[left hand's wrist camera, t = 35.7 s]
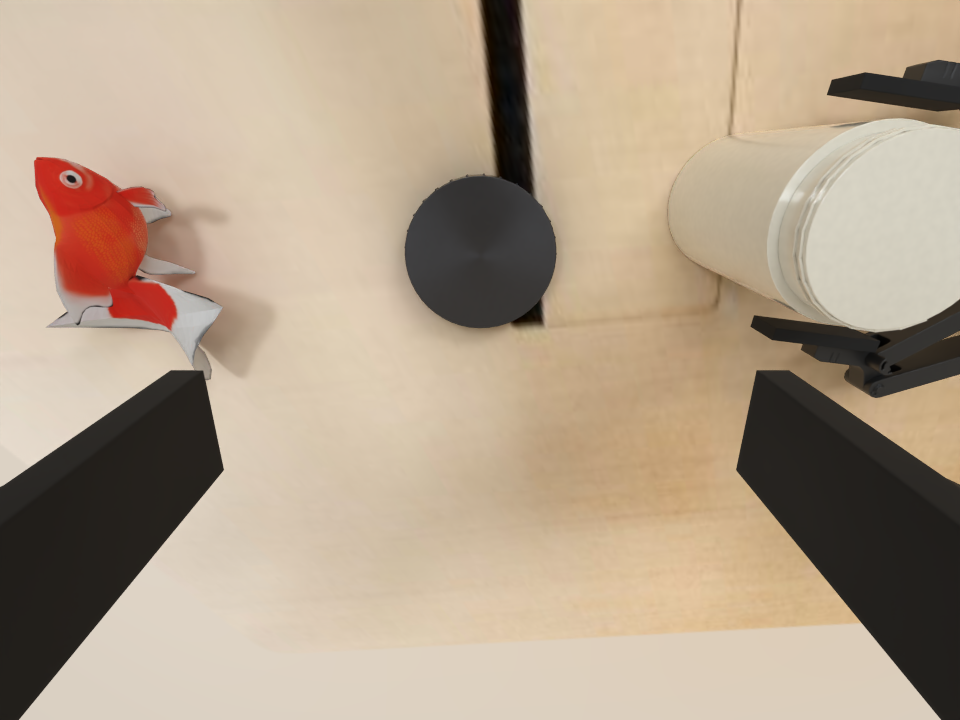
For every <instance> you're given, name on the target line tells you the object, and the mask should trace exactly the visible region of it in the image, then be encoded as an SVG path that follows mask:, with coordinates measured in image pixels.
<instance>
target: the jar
mask: <svg viewBox="0 0 960 720" xmlns="http://www.w3.org/2000/svg"><path fill="white" fill-rule="evenodd" d="M668 223H669V228H670V232H671V235H672V237H673V239H674V241H675V243H676V245H677V246H678V248H679V249H680V251H681V252H682V253H683V254H684V255H685V256H686V257H688V258H689V259H690V260H691V261H693V262H695V263H697V264H699V265H701V266H703V267H705V268H707V269H709V270H711V271H713V272H715V273H717V274H719V275H721V276H723V277H725V278H727V279H729V280H731V281H733V282H735V283H738V284H740V285H742V286H744V287H746V288H748V289H750V290H752V291H754V292H756V293H758V294H760V295H762V296H764V297H766V298H768V299H770V300H772V301H774V302H777V303H779V304H781V305H783V306H785V307H787V308H789V309H791V310H793V311H795V312H797V313H799V314H801V315H803V316H805V317H807V318H810V319H812V320H815V321H818V322H822V323H826V324H832V325H844V326H846V327H849V328H850V329H857V330H863V331H870V332H883V331H892V330H902V329H905V328H908V327H911V326H913V325H916V324H919V323H922V322H925V321H927V319H929V318H931V317H933V316H935V315H937V314H938V313H940V312H942V311H944V310H945V309H947V308H948V307H950V306H951V305H953V304H954V303H955V302H957V301H958V300H959V299H960V129H957V128H952V127H946V126H940V125H935V124H928V123H925V122H921V121H918V120H913V119H903V118H895V119H880V120H870V121H860V122H849V123H839V124H829V125H818V126H808V127H797V128H787V129H777V130H766V131H756V132H745V133H737V134H731V135H727V136H724V137H721V138H719V139H717V140H715V141H712V142H711V143H709V144H707V145H706V146H704V147H703V148H702V149H700V150H699V151H698V152H697V153H695V154H694V155H693V156H692V157H691V158H690V159H689V160H688V162H687V163H686V164H685V166H684V167H683V168H682V170H681V171H680V173H679V175H678V176H677V178H676V180H675V182H674V185H673V187H672V190H671V193H670V198H669V203H668Z"/></svg>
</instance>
